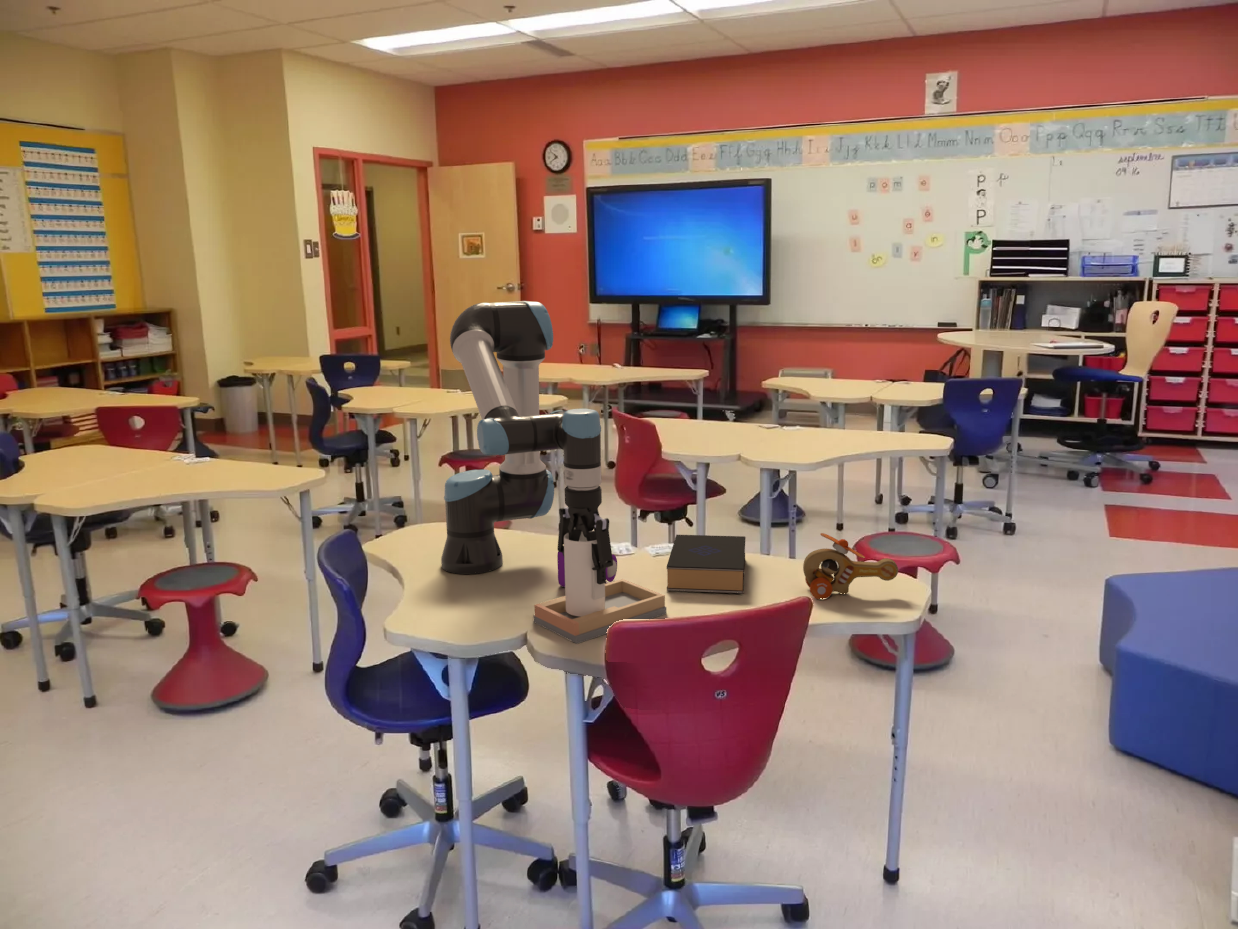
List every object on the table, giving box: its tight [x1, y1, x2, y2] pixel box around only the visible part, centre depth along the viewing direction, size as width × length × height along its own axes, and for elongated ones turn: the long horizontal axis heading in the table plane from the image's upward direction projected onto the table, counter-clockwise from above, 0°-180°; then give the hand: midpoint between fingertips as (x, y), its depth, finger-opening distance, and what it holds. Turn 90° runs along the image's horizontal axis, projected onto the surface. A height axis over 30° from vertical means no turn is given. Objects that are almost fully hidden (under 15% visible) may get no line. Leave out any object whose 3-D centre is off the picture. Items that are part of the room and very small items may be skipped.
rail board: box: [532, 578, 667, 644], centre depth 198 cm, size 15×24×4 cm, turn 130°
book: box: [666, 534, 747, 594], centre depth 223 cm, size 17×25×7 cm
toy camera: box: [556, 551, 618, 588], centre depth 217 cm, size 11×14×10 cm
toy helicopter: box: [802, 532, 899, 600], centre depth 208 cm, size 8×21×14 cm, turn 87°
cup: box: [563, 530, 605, 617], centre depth 193 cm, size 8×8×16 cm
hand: (585, 592), depth 194 cm, fingers closed on cup, 8 cm apart
